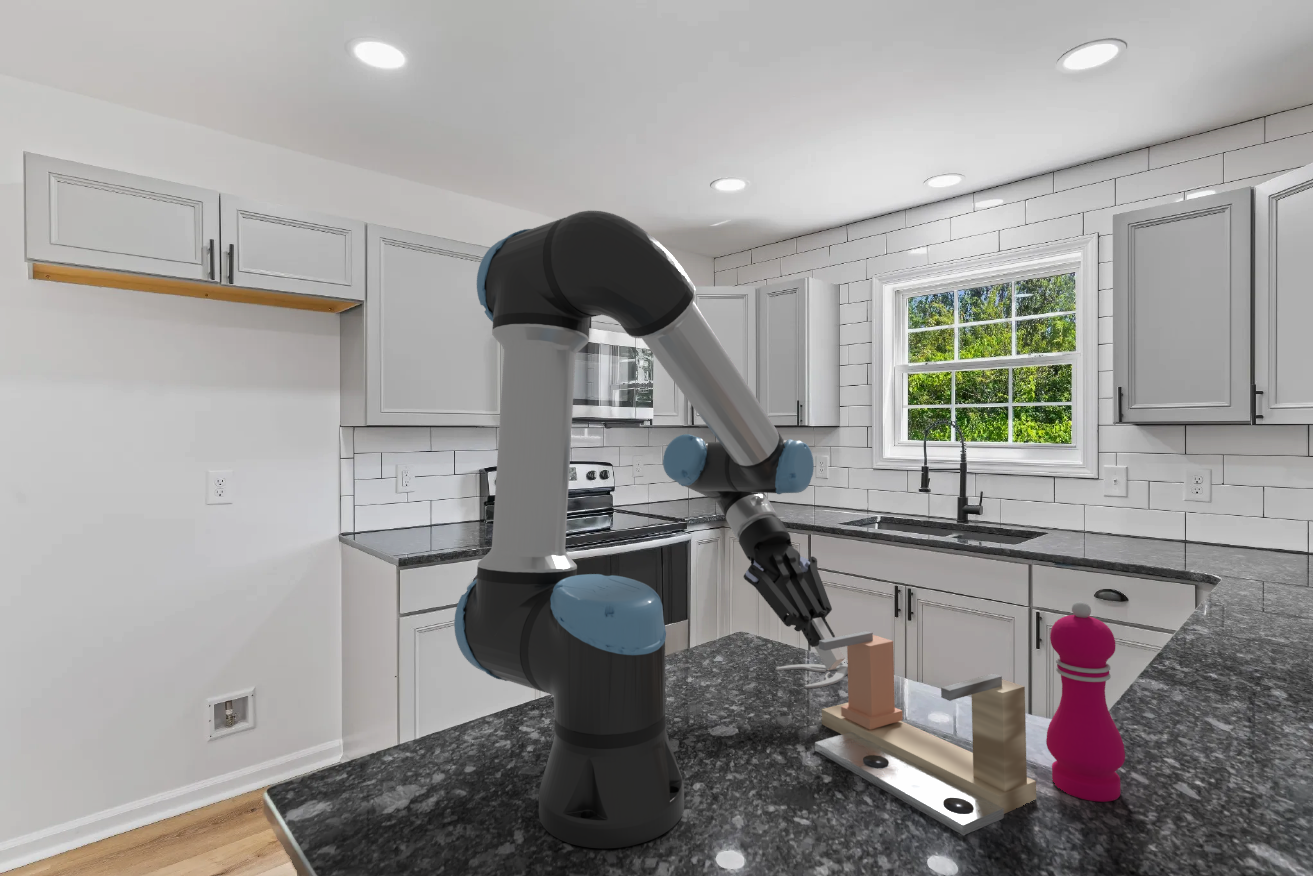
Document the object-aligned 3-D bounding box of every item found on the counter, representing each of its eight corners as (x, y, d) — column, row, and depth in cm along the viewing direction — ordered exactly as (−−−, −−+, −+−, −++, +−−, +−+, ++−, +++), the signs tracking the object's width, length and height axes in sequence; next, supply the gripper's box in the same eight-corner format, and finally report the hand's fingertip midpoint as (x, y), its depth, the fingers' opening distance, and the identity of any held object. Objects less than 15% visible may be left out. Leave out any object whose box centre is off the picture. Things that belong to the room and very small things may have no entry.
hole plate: (963, 835, 65) (963, 823, 65) (815, 750, 84) (814, 741, 84) (1003, 818, 68) (1003, 806, 68) (851, 739, 87) (851, 730, 87)
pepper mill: (1053, 765, 79) (1049, 591, 79) (1129, 784, 74) (1125, 599, 75) (1041, 790, 73) (1036, 603, 74) (1122, 812, 69) (1117, 613, 69)
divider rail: (965, 830, 66) (962, 695, 66) (792, 732, 89) (790, 632, 89) (1036, 800, 72) (1033, 675, 72) (855, 715, 94) (853, 620, 95)
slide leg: (838, 738, 82) (836, 646, 82) (810, 724, 86) (808, 636, 86) (902, 720, 87) (900, 633, 87) (873, 707, 91) (871, 624, 91)
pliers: (774, 662, 114) (851, 651, 119) (775, 671, 114) (851, 660, 119) (807, 681, 105) (888, 668, 110) (807, 691, 105) (888, 678, 110)
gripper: (734, 517, 103) (812, 658, 88) (801, 511, 109) (884, 641, 95) (715, 548, 108) (786, 687, 93) (781, 540, 114) (857, 669, 99)
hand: (836, 664), depth 94 cm, fingers closed
